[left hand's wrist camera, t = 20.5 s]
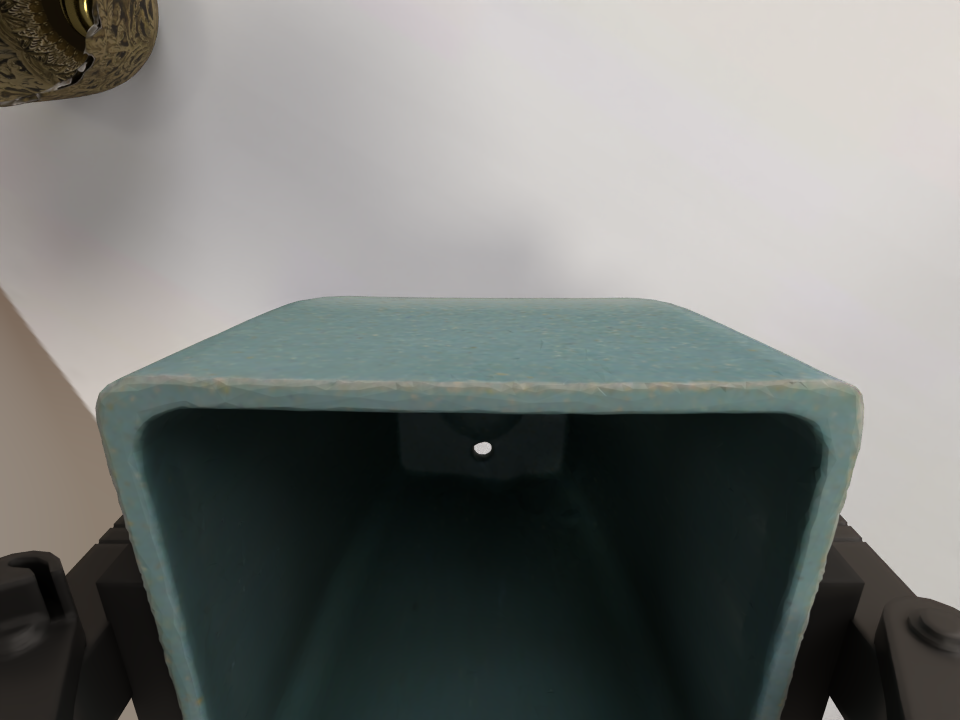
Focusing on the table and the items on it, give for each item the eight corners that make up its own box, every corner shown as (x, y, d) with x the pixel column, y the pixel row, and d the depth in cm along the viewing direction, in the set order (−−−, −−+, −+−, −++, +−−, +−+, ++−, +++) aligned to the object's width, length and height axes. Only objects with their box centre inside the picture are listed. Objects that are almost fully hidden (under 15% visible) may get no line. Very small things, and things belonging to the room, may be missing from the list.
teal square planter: (337, 525, 18) (212, 871, 9) (305, 238, 15) (73, 381, 6) (621, 524, 18) (746, 871, 9) (652, 239, 15) (885, 381, 6)
